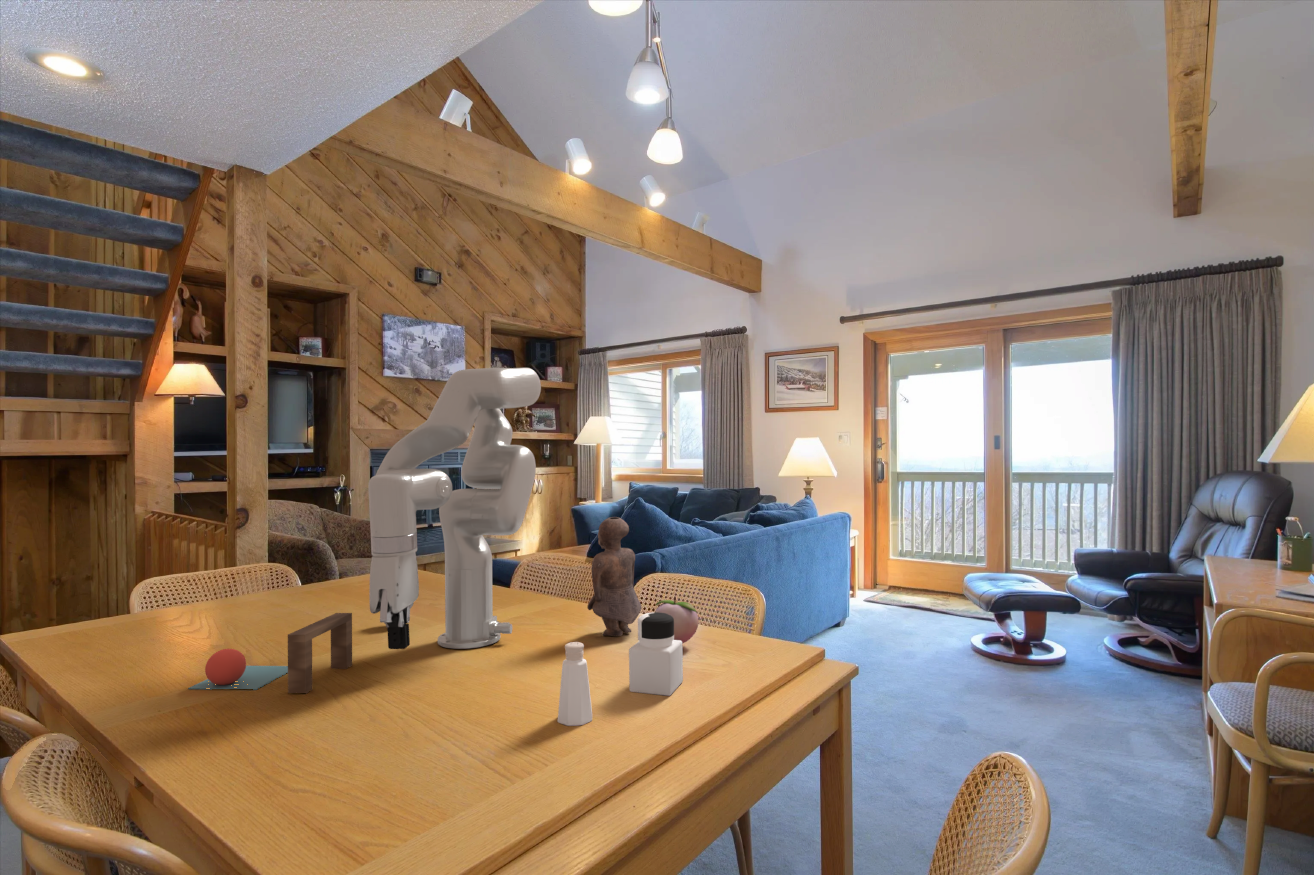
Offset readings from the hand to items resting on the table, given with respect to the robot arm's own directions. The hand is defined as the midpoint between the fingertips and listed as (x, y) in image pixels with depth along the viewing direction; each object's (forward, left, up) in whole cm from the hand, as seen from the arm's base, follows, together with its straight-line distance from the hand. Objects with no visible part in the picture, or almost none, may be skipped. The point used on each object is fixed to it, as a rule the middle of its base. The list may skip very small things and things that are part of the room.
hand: (399, 647), depth 122 cm
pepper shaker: (-35, +17, -5) cm, 39 cm away
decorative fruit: (-48, -20, -5) cm, 52 cm away
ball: (+29, +5, -2) cm, 29 cm away
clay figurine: (-35, -29, -5) cm, 45 cm away
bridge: (+13, +1, -5) cm, 14 cm away
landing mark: (+27, +1, -5) cm, 28 cm away
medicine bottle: (-46, +3, -5) cm, 46 cm away
